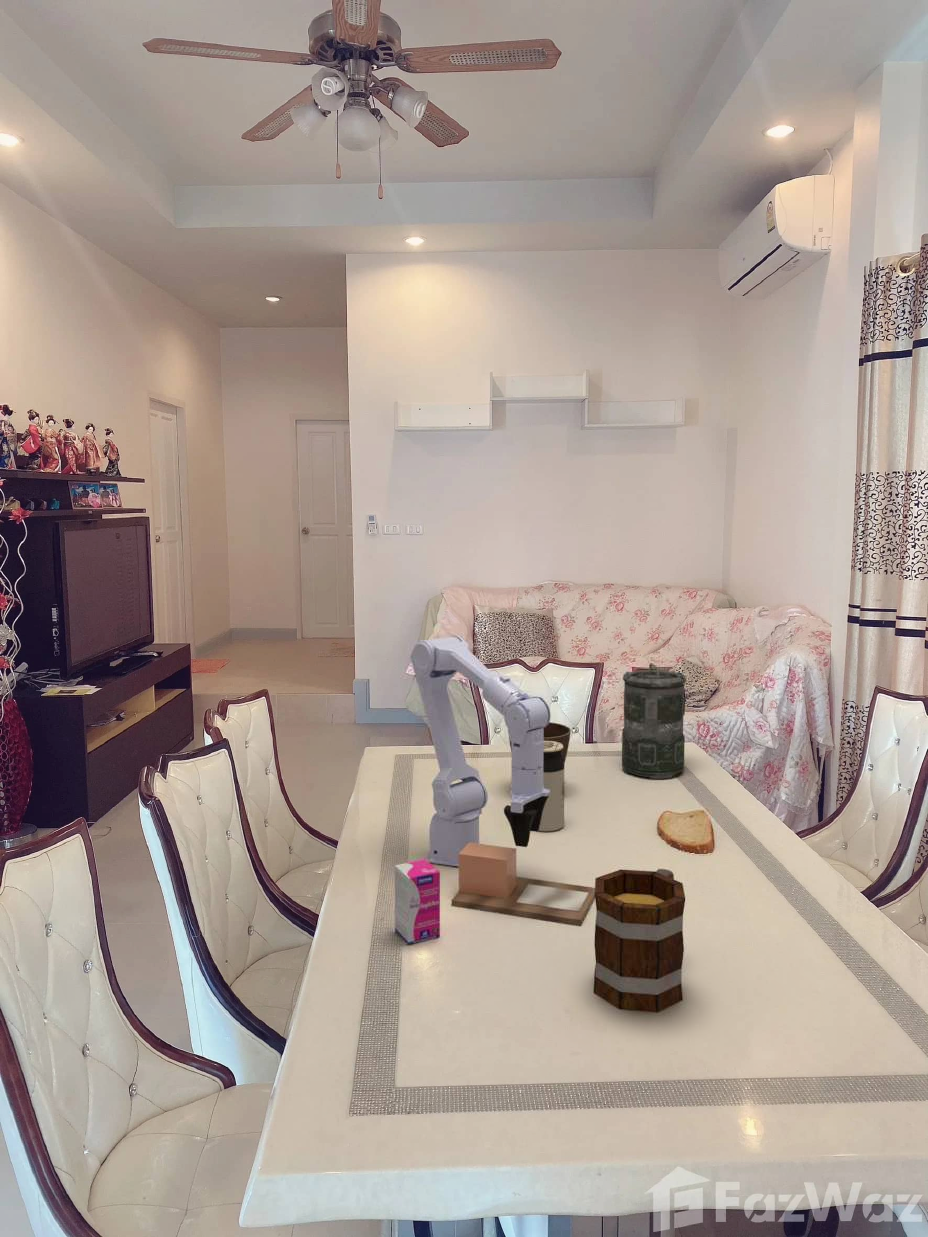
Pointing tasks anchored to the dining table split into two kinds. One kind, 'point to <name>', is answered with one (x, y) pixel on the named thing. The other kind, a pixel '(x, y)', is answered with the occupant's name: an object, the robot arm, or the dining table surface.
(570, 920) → the walnut board
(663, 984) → the mug
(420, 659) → the robot arm
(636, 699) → the canister
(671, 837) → the slice of bread
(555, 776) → the travel mug
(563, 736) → the plant pot
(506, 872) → the terracotta cover
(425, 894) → the supplement box
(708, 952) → the dining table surface
